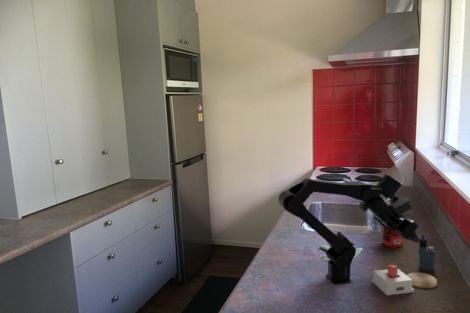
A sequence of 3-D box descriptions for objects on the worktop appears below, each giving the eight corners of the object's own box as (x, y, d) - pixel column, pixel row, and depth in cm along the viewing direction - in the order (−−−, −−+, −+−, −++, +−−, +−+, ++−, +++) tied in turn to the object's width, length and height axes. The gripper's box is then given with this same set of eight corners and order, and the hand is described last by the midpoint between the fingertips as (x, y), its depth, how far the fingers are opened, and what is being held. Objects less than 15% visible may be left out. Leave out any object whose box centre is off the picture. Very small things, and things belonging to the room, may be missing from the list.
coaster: (417, 289, 118) (417, 286, 118) (400, 276, 127) (401, 274, 127) (443, 286, 119) (443, 283, 119) (425, 273, 128) (425, 271, 128)
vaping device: (419, 265, 135) (420, 233, 133) (435, 269, 131) (436, 236, 130) (417, 268, 133) (418, 236, 131) (433, 271, 129) (435, 239, 128)
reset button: (390, 282, 119) (391, 268, 118) (386, 278, 122) (386, 265, 121) (398, 281, 119) (399, 267, 118) (394, 277, 122) (394, 264, 121)
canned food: (405, 243, 155) (406, 218, 153) (398, 249, 149) (399, 223, 148) (387, 239, 160) (387, 214, 159) (379, 245, 154) (380, 219, 153)
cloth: (318, 265, 140) (318, 259, 140) (309, 243, 162) (309, 237, 162) (373, 263, 139) (373, 257, 139) (357, 241, 161) (357, 236, 160)
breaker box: (387, 295, 116) (387, 283, 115) (372, 281, 124) (372, 270, 124) (413, 292, 117) (413, 280, 116) (397, 278, 126) (397, 267, 125)
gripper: (413, 198, 117) (444, 228, 120) (381, 185, 135) (409, 211, 138) (389, 224, 117) (421, 253, 120) (361, 208, 135) (389, 233, 138)
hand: (409, 236), depth 129 cm, fingers open, 9 cm apart
